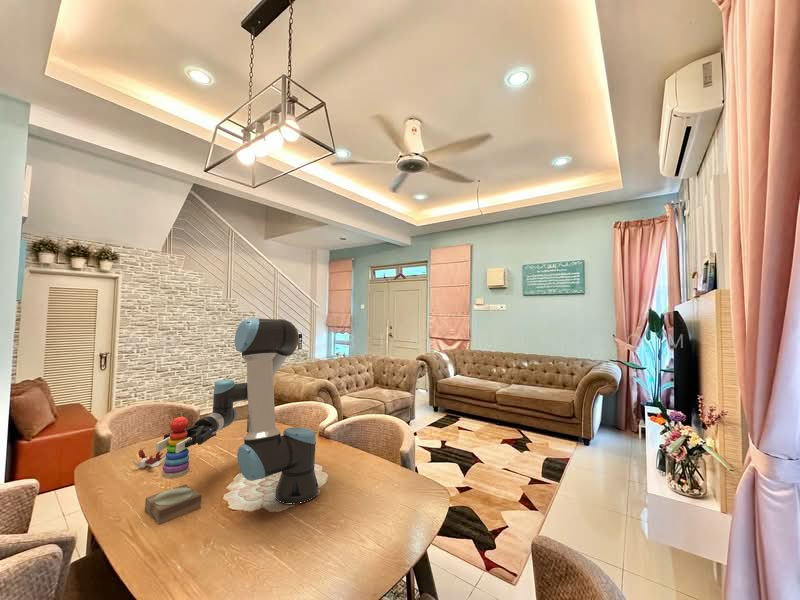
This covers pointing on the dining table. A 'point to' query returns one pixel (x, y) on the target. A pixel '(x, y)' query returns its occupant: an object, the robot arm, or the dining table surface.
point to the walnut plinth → (172, 503)
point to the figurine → (149, 459)
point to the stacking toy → (174, 461)
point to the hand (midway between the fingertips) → (167, 448)
